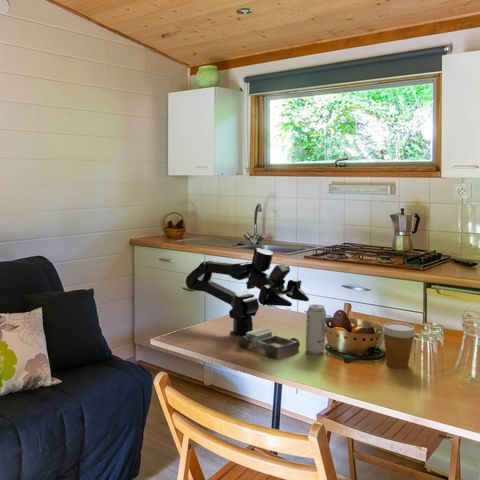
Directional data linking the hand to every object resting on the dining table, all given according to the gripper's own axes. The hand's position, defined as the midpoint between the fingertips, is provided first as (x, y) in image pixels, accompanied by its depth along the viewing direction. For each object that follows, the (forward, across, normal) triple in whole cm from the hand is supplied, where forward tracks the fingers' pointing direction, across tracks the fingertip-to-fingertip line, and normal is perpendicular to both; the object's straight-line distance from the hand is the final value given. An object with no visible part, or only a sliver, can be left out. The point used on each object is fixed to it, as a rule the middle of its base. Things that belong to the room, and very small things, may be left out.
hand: (300, 302), depth 171 cm
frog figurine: (+20, +20, +11) cm, 31 cm away
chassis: (-3, -6, +17) cm, 19 cm away
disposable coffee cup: (+32, +10, +8) cm, 35 cm away
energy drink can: (+9, +3, +14) cm, 17 cm away
